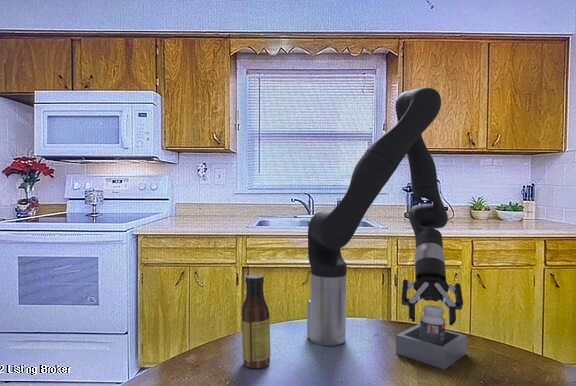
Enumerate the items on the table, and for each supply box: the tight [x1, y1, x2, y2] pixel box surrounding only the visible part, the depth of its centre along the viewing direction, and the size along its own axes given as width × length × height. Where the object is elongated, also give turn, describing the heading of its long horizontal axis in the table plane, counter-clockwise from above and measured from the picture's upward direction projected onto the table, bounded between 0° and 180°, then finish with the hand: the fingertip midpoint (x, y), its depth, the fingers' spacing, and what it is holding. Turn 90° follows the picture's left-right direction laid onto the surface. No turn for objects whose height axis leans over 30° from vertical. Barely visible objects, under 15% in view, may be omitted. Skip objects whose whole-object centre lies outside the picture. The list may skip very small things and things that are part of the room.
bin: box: [395, 323, 468, 370], centre depth 102 cm, size 12×12×4 cm
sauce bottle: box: [241, 273, 272, 370], centre depth 95 cm, size 6×6×20 cm
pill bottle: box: [419, 304, 446, 346], centre depth 103 cm, size 6×6×10 cm
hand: (432, 321), depth 101 cm, fingers open, 8 cm apart
